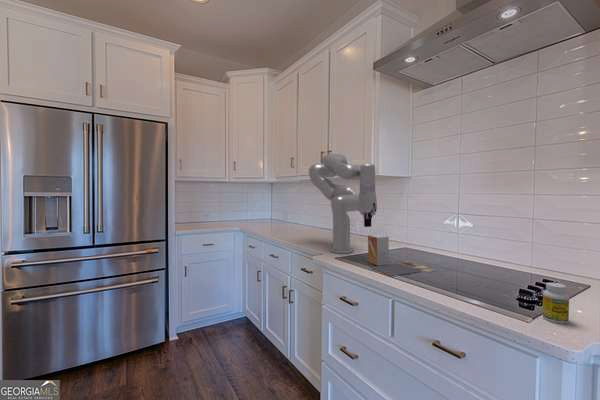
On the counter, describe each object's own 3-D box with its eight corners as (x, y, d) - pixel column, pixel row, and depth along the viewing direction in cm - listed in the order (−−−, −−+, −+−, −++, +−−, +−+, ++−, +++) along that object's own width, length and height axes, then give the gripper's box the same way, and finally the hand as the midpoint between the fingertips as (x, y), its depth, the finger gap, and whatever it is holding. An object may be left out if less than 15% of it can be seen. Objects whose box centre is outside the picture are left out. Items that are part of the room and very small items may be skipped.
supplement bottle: (559, 316, 81) (560, 281, 81) (573, 325, 76) (575, 288, 76) (537, 314, 82) (538, 281, 82) (550, 323, 77) (551, 287, 76)
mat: (369, 267, 130) (369, 267, 130) (397, 264, 136) (397, 263, 136) (390, 276, 117) (390, 276, 117) (421, 271, 124) (421, 271, 124)
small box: (368, 262, 140) (367, 235, 140) (379, 261, 142) (379, 234, 142) (377, 266, 132) (376, 237, 132) (389, 264, 134) (388, 236, 134)
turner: (398, 262, 138) (398, 260, 138) (406, 261, 140) (406, 259, 140) (426, 272, 123) (426, 270, 123) (435, 271, 125) (435, 268, 125)
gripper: (352, 189, 149) (352, 225, 150) (370, 189, 135) (370, 228, 136) (364, 189, 152) (365, 224, 152) (383, 189, 138) (383, 227, 139)
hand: (367, 226), depth 144 cm, fingers closed
